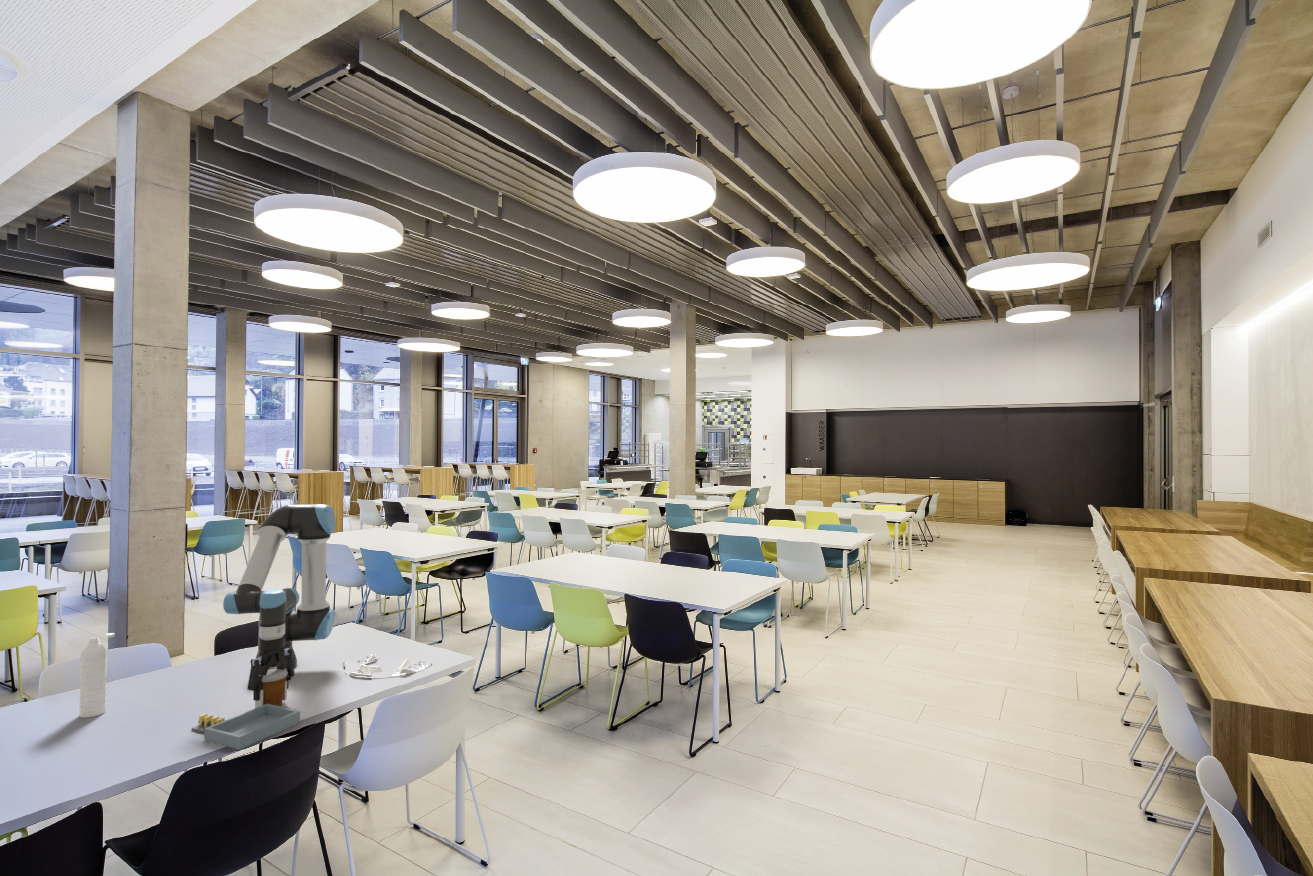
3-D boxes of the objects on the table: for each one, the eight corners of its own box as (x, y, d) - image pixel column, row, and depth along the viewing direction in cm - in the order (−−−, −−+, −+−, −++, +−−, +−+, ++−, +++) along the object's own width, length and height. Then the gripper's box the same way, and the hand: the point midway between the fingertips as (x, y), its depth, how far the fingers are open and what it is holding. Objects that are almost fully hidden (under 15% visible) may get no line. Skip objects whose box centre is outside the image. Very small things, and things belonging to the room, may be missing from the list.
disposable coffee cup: (263, 715, 209) (264, 678, 209) (248, 708, 214) (249, 672, 214) (293, 705, 217) (293, 669, 217) (278, 699, 222) (278, 664, 222)
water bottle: (85, 719, 204) (87, 641, 204) (75, 715, 207) (76, 638, 207) (118, 709, 212) (119, 634, 212) (107, 706, 215) (109, 631, 215)
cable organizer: (437, 663, 261) (437, 655, 261) (398, 684, 238) (398, 675, 238) (366, 655, 270) (366, 647, 270) (321, 674, 247) (322, 665, 247)
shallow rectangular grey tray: (204, 740, 190) (204, 728, 190) (266, 714, 209) (267, 703, 209) (239, 749, 185) (239, 737, 185) (300, 722, 204) (300, 710, 204)
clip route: (190, 730, 197) (190, 718, 197) (210, 722, 203) (210, 710, 203) (214, 736, 193) (214, 723, 193) (234, 728, 199) (234, 716, 199)
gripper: (250, 647, 205) (249, 718, 204) (307, 630, 224) (306, 695, 224) (234, 644, 207) (233, 714, 207) (291, 627, 227) (290, 692, 226)
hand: (271, 704), depth 215 cm, fingers closed on disposable coffee cup, 8 cm apart
